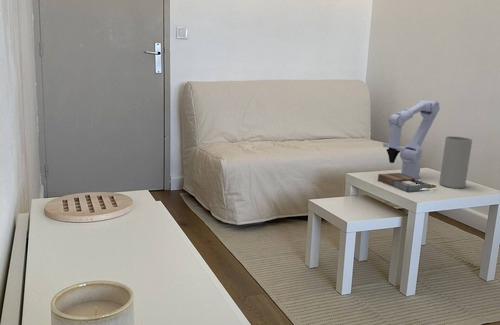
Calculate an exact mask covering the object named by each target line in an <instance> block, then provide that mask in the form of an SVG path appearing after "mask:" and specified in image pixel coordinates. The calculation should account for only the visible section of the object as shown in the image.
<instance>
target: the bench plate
mask: <svg viewBox="0 0 500 325" xmlns="http://www.w3.org/2000/svg"><path fill="white" fill-rule="evenodd" d="M377 175H378V177H377V181H378V182H380V183H383V184H386V185H387V186H391V187H393V188H395V187H394V181H397V182H399V183H402V181H411V182H415V178H413V177H410V176H407V175H404V174H401V172H391V173H389V172H388V173H378V174H377Z"/></svg>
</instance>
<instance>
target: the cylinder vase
mask: <svg viewBox="0 0 500 325" xmlns="http://www.w3.org/2000/svg"><path fill="white" fill-rule="evenodd" d="M472 144H473V139H472V138H469V137H464V136H463V137H462V136H452V135H451V136H446V137H445V141H444V148H443V156H442V162H441V170H440V178H439V185H441V186H443V187H447V188H451V189H464V188H465V187H466V184H467V177H468V170H469V164H470V158H471V150H472Z"/></svg>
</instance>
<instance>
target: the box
mask: <svg viewBox="0 0 500 325" xmlns="http://www.w3.org/2000/svg"><path fill="white" fill-rule="evenodd" d="M414 183H417V184H420V185H412V186H407V185H405V184H402V183H399V182H397V181H394V187H393V188H396V189H397V190H398V189H399V190H402V191H403V192H406V193H411V192H412V193H414V192H420V191H419V190H420V189H422V188H430V187H431V184H430V183H427V182H424V181H421V180H418V179H415V182H414ZM430 189H431V188H430Z"/></svg>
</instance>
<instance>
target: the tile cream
mask: <svg viewBox="0 0 500 325" xmlns="http://www.w3.org/2000/svg"><path fill="white" fill-rule="evenodd" d="M402 184H405V185H407V186H408V184H415V183H414V182H411V181H402Z"/></svg>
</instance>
